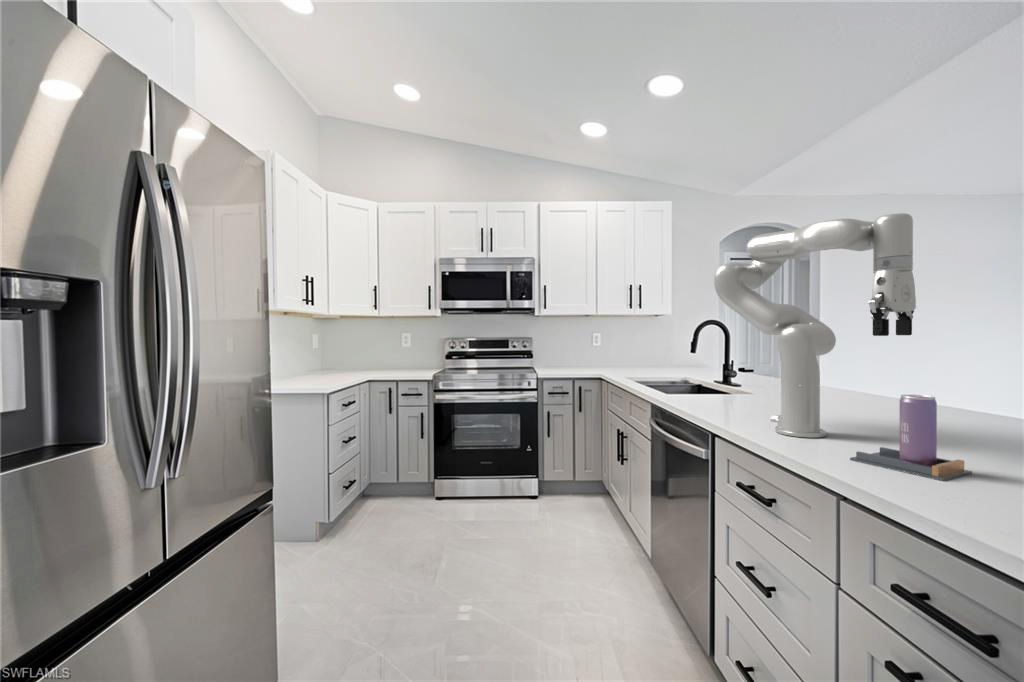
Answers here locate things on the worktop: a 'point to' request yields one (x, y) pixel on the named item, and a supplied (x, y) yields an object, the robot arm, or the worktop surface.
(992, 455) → the worktop surface
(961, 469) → the dock
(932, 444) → the beverage can
